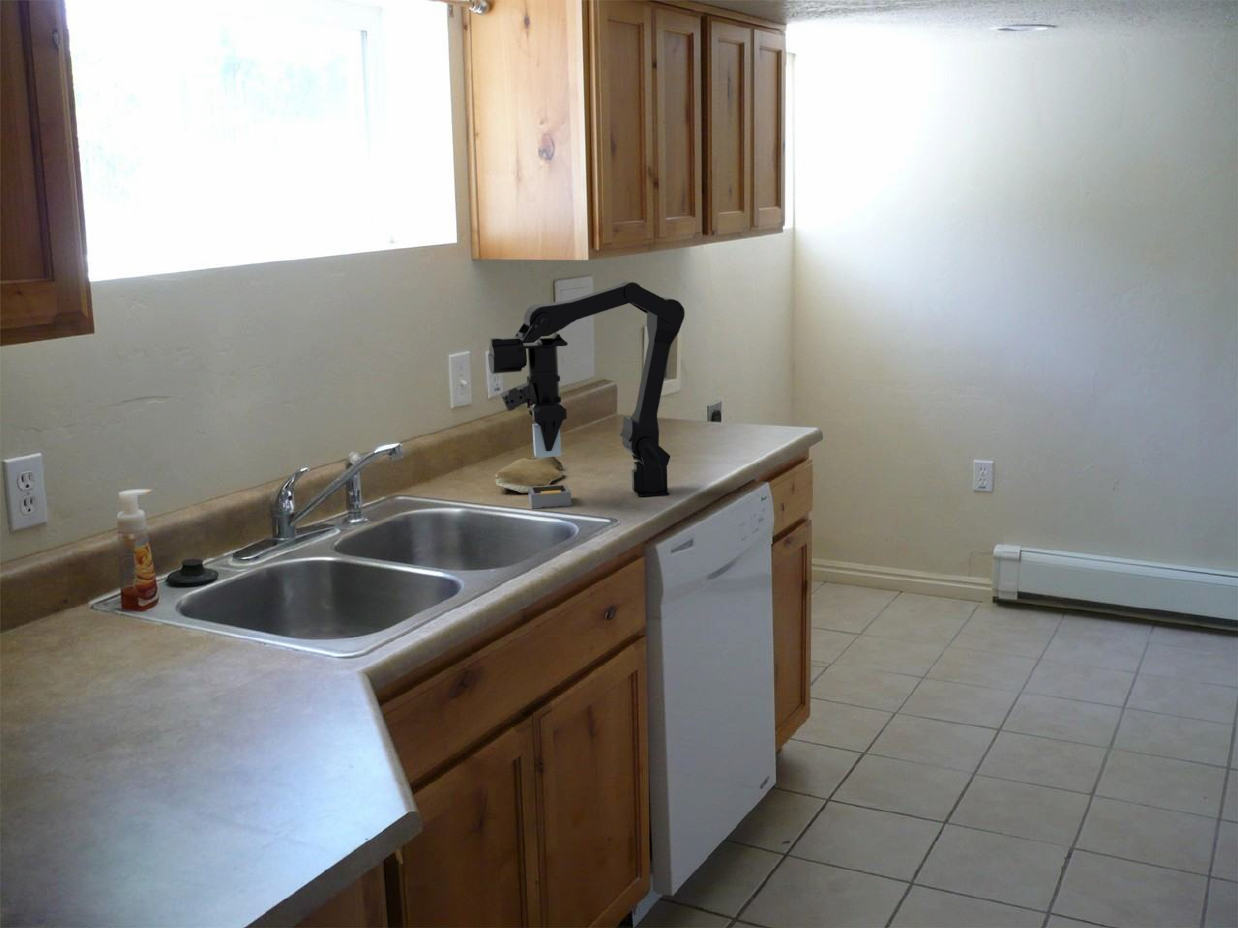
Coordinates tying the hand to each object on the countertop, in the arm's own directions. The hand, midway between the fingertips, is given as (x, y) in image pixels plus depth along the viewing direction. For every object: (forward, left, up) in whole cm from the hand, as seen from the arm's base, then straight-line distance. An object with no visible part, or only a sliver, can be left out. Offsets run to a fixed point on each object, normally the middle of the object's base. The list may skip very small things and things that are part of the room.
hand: (547, 448), depth 239 cm
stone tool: (+2, -20, -12) cm, 23 cm away
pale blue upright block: (0, 0, -1) cm, 1 cm away
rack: (0, 0, -11) cm, 11 cm away
